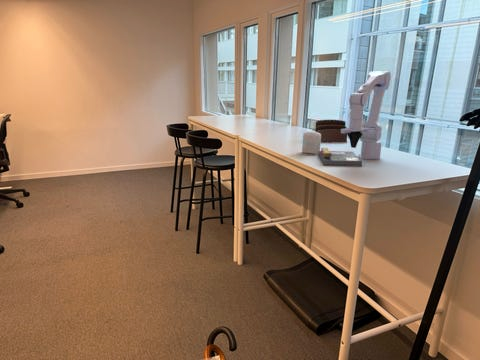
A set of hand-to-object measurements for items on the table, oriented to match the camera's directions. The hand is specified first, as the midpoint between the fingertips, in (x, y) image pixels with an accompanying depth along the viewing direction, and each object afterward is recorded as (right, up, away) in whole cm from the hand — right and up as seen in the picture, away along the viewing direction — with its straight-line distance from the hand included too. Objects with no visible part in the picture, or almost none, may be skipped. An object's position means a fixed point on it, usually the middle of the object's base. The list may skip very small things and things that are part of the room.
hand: (353, 147), depth 163 cm
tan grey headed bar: (-11, -3, +11) cm, 15 cm away
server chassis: (-4, -6, +10) cm, 12 cm away
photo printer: (-15, -1, +27) cm, 31 cm away
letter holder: (+6, +10, +63) cm, 64 cm away
